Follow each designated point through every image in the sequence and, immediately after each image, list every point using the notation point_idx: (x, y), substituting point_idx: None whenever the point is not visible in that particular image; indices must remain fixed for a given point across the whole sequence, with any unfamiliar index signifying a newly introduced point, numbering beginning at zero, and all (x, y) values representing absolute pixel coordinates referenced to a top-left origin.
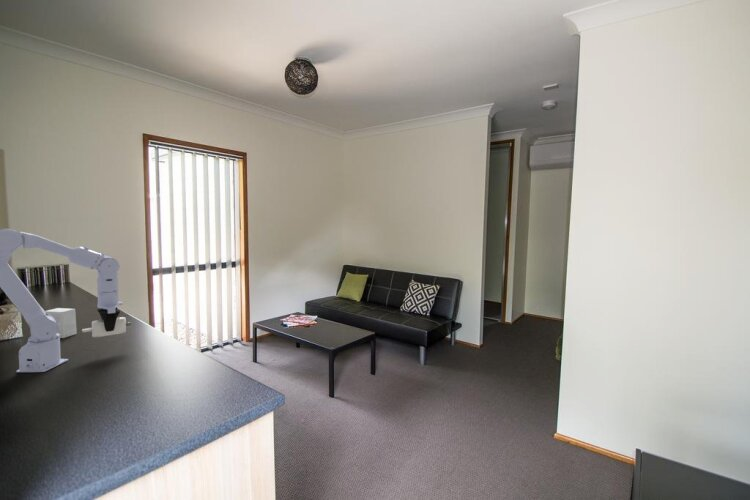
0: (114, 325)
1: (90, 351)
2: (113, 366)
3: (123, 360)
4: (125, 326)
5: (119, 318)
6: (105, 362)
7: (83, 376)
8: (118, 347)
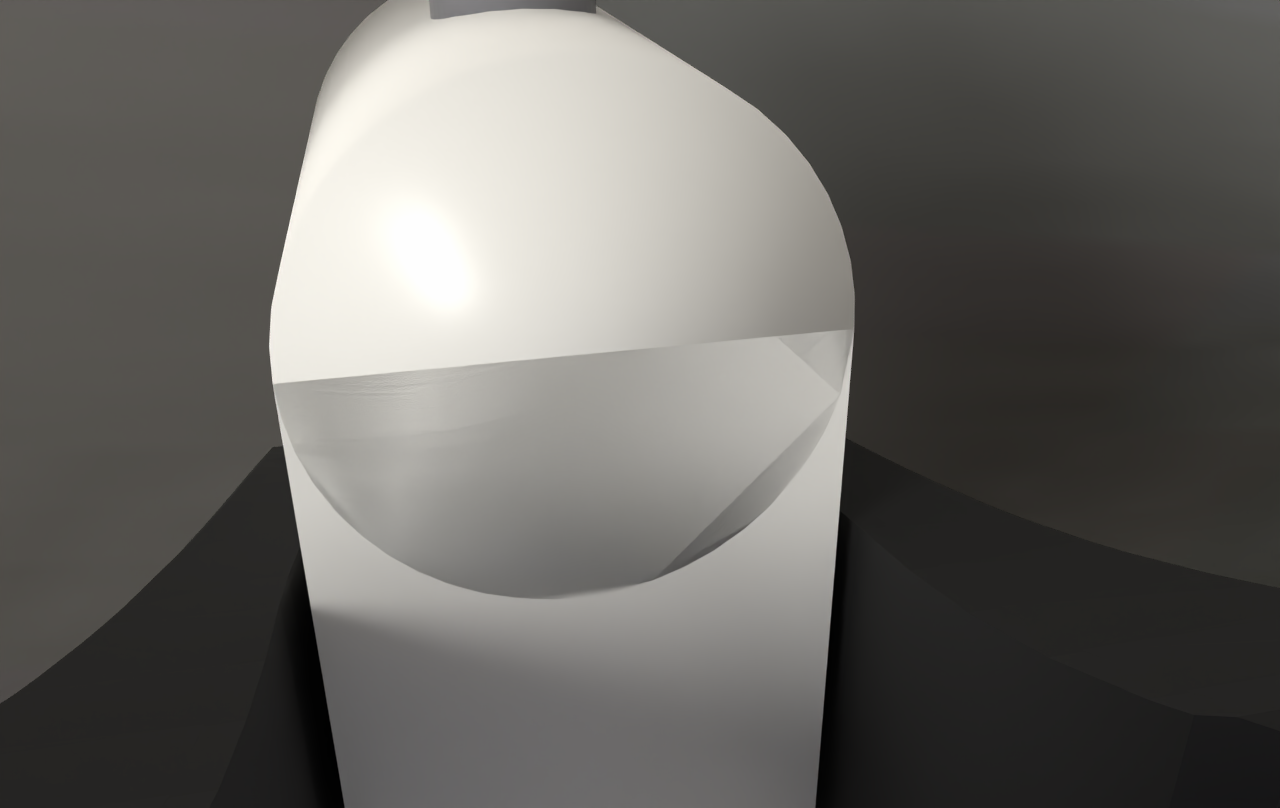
0: (863, 458)
1: (138, 531)
2: (1225, 234)
3: (1076, 72)
4: (621, 23)
5: (585, 366)
6: (956, 325)
7: (1271, 545)
8: (124, 60)
